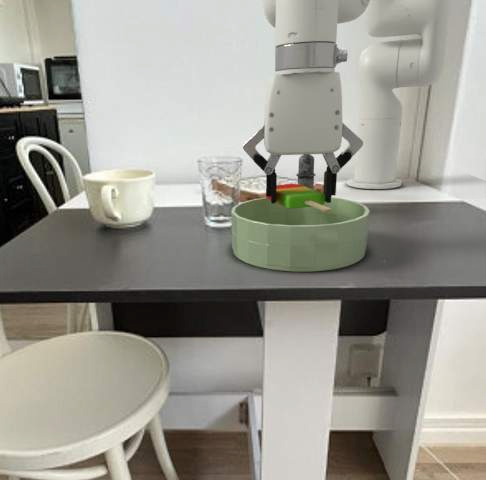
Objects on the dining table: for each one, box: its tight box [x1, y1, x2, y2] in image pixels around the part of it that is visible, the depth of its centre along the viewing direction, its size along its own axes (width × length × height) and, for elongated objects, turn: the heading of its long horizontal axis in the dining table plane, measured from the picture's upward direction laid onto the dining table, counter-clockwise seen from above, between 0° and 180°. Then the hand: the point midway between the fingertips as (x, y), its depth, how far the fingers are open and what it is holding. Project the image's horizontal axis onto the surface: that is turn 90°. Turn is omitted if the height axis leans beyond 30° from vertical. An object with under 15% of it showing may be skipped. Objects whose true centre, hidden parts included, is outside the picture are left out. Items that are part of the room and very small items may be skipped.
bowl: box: [230, 196, 371, 273], centre depth 63 cm, size 19×19×6 cm
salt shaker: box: [296, 154, 316, 190], centre depth 82 cm, size 6×6×12 cm
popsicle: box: [267, 183, 331, 211], centre depth 62 cm, size 6×15×2 cm, turn 16°
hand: (299, 200), depth 62 cm, fingers closed on popsicle, 6 cm apart
